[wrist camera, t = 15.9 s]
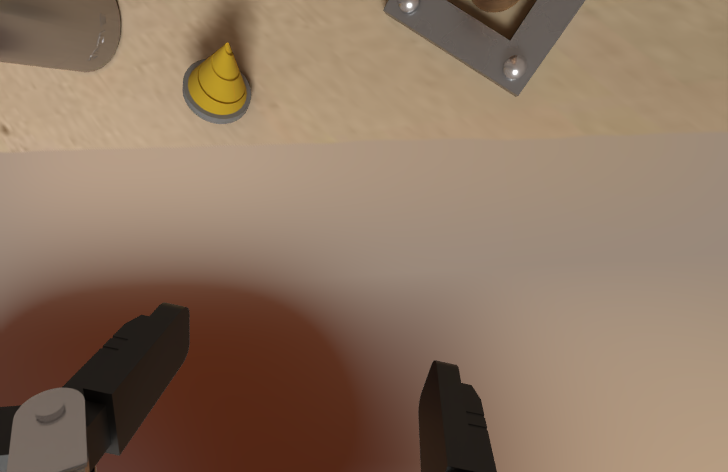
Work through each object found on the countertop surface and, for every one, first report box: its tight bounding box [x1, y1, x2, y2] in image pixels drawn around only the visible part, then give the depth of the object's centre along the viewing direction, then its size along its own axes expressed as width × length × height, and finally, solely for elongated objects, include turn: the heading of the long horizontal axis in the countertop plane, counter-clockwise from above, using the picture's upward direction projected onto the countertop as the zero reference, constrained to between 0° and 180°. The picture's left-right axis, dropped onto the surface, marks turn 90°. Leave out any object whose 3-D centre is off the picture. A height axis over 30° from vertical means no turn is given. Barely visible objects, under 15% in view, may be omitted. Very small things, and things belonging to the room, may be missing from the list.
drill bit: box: [183, 43, 251, 124], centre depth 32 cm, size 5×5×10 cm
